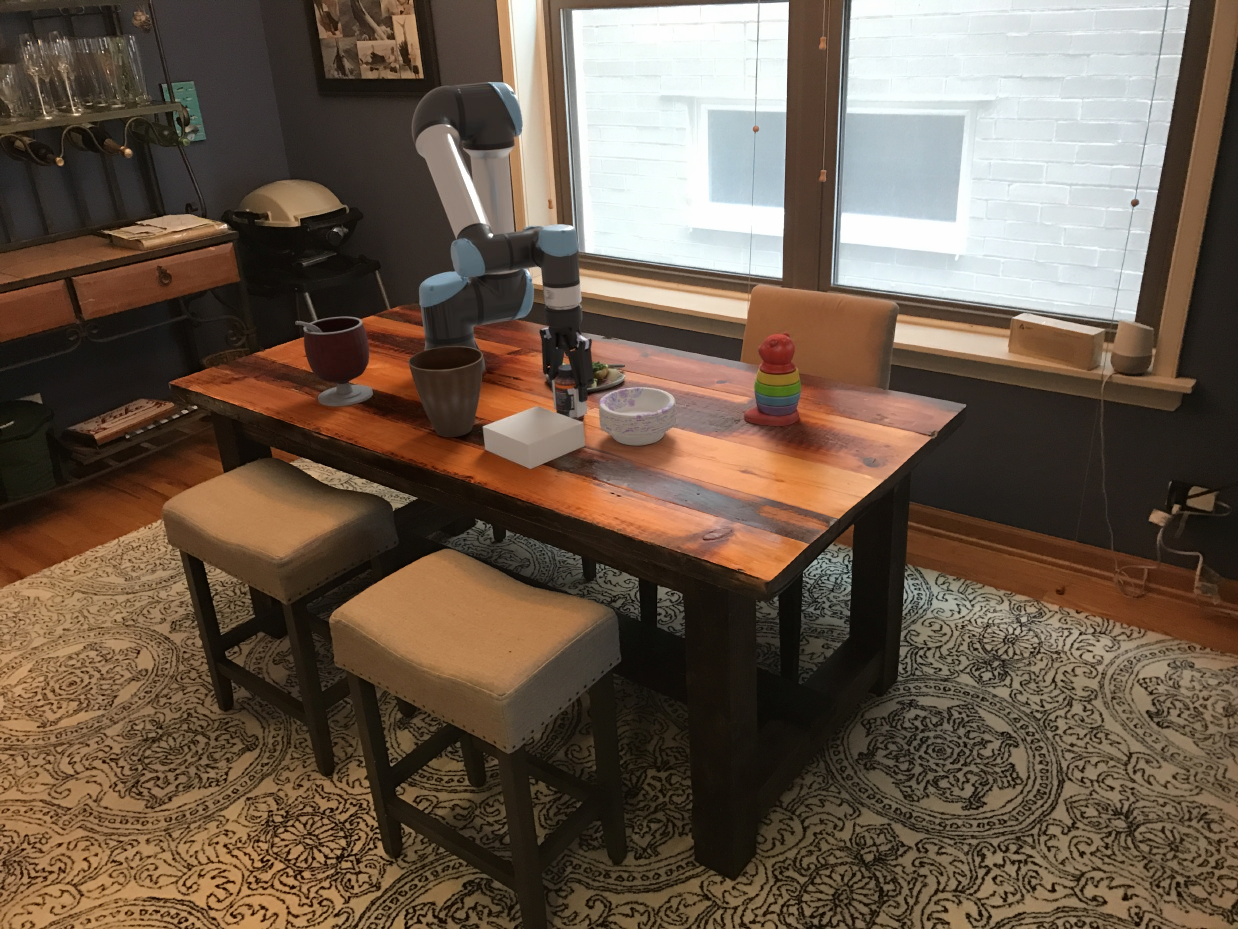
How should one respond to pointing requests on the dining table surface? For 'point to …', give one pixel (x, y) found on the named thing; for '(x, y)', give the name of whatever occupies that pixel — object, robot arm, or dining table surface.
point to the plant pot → (448, 387)
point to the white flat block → (534, 436)
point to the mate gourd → (338, 357)
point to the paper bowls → (637, 415)
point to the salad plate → (603, 375)
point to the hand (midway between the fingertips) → (570, 411)
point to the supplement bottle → (565, 392)
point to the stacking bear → (776, 384)
